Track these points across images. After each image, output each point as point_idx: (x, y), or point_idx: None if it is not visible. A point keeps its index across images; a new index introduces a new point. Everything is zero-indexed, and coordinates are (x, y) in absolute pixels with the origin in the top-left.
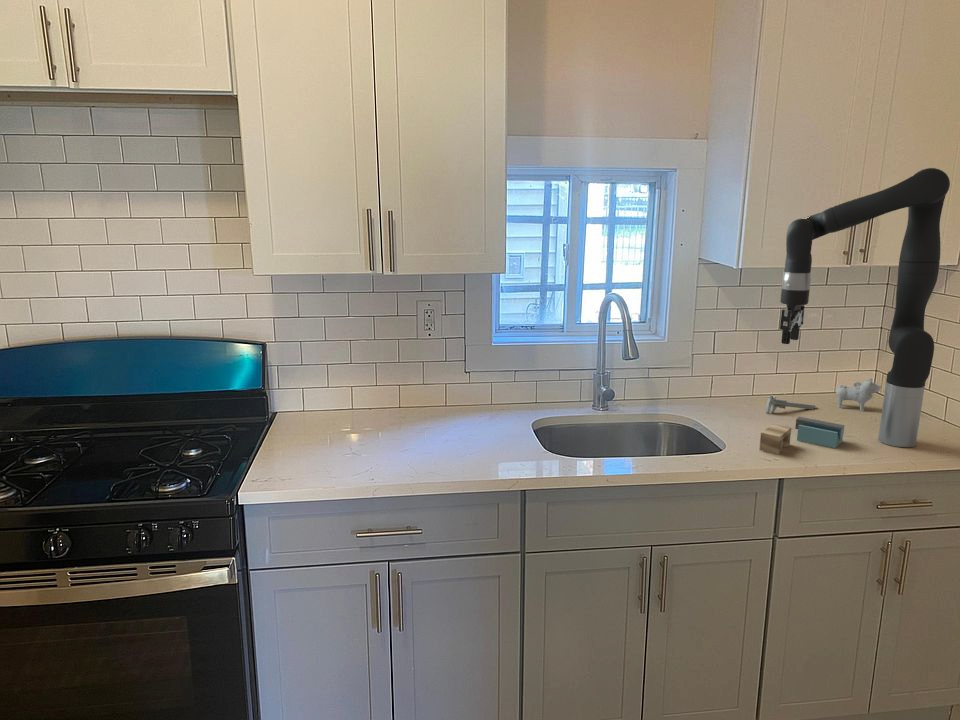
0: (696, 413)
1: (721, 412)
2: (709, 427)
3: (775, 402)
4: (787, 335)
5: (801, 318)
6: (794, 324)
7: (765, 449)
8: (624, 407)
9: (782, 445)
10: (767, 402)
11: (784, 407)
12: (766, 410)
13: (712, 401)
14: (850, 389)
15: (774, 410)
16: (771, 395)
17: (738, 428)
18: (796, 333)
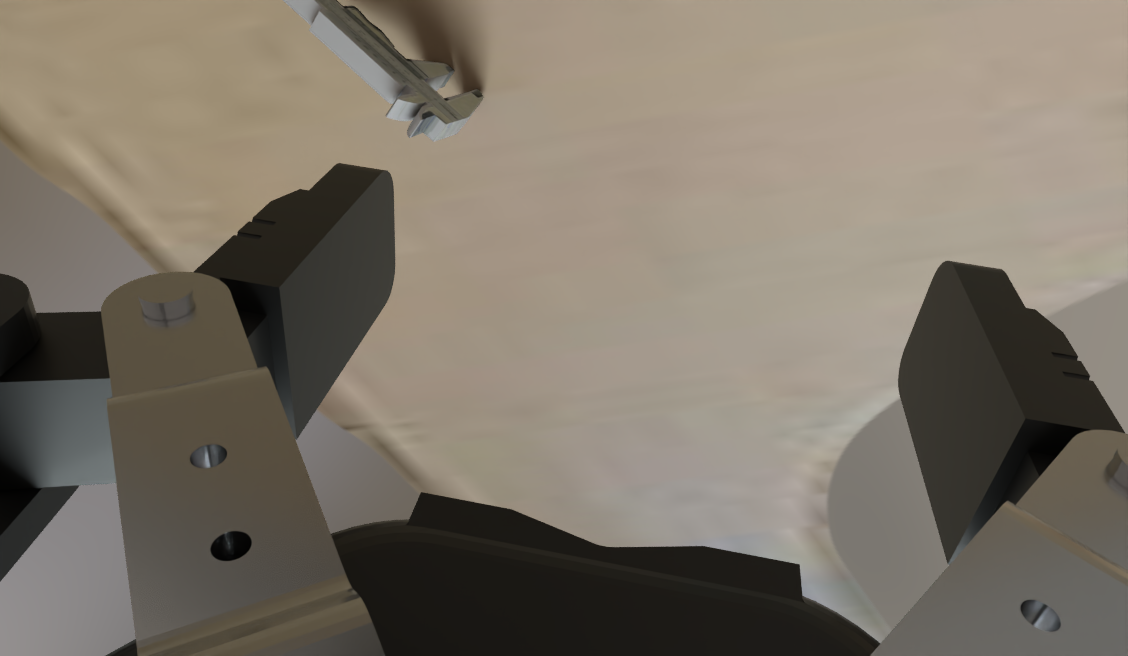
0: (722, 437)
1: (624, 336)
2: None
3: (412, 81)
4: (1111, 418)
5: (185, 458)
6: (1045, 525)
7: None
8: None
9: None
10: (453, 132)
11: (353, 10)
12: (472, 113)
13: (433, 406)
14: None
15: (434, 64)
16: (413, 131)
17: (929, 200)
18: (343, 261)
